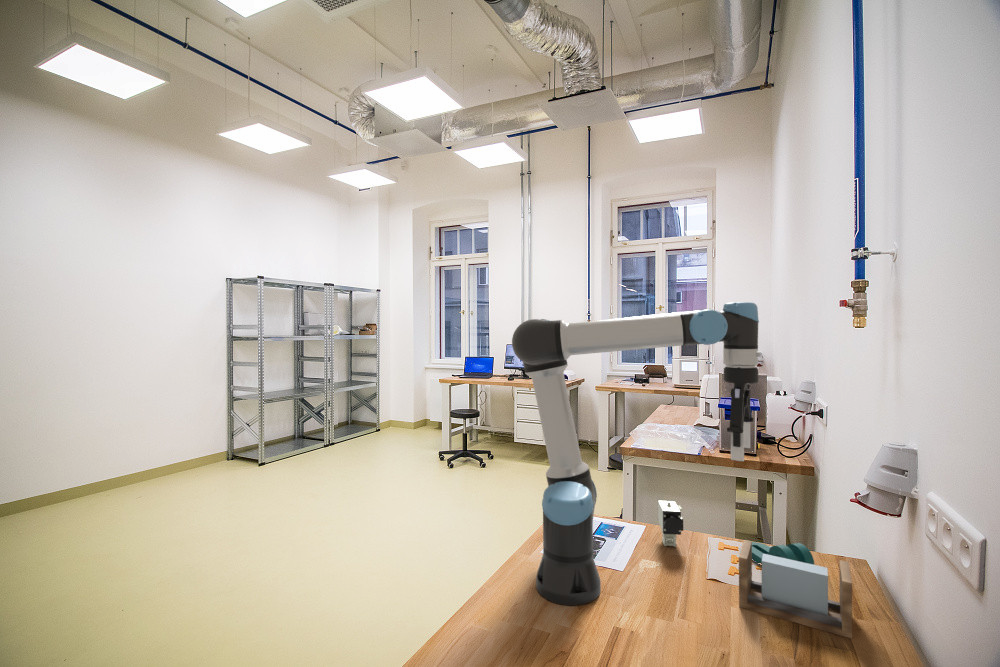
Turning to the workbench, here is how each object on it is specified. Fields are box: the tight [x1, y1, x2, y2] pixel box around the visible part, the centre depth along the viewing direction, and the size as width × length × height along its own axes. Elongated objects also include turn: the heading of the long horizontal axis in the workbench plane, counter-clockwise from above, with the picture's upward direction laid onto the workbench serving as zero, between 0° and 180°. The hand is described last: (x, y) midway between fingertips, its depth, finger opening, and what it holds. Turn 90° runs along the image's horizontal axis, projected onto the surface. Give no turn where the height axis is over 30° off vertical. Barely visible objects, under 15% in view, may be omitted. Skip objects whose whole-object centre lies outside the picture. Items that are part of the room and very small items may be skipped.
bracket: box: [752, 541, 815, 565], centre depth 122 cm, size 18×7×8 cm, turn 11°
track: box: [738, 539, 853, 639], centre depth 103 cm, size 20×10×11 cm, turn 57°
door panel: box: [761, 554, 829, 615], centre depth 103 cm, size 12×4×9 cm, turn 57°
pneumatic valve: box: [657, 499, 684, 547], centre depth 134 cm, size 6×12×12 cm, turn 170°
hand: (740, 453), depth 115 cm, fingers open, 13 cm apart
